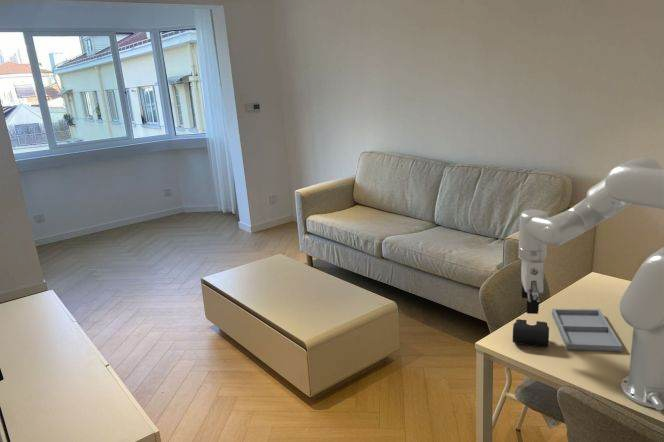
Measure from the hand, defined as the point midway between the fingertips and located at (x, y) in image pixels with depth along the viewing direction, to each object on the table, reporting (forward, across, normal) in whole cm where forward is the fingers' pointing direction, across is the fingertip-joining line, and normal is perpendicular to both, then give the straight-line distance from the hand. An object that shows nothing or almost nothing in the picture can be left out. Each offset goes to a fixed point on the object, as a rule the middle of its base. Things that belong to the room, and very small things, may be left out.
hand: (529, 305), depth 148 cm
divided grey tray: (+13, +7, -18) cm, 23 cm away
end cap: (+13, -1, -1) cm, 13 cm away
